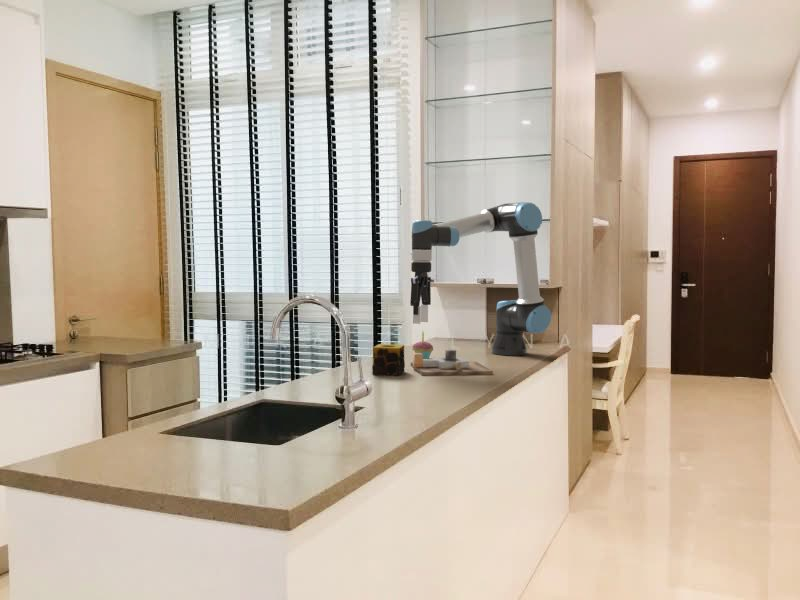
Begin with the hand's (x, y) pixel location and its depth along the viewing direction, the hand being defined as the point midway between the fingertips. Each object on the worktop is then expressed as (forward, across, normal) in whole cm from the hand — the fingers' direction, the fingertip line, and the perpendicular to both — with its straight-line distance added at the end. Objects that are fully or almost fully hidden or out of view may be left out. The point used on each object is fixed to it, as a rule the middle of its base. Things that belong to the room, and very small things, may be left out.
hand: (420, 322), depth 274 cm
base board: (+17, 0, +12) cm, 21 cm away
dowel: (+16, +7, +18) cm, 25 cm away
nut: (+16, +3, +9) cm, 18 cm away
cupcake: (+17, -19, -7) cm, 27 cm away
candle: (+17, +18, -4) cm, 25 cm away
